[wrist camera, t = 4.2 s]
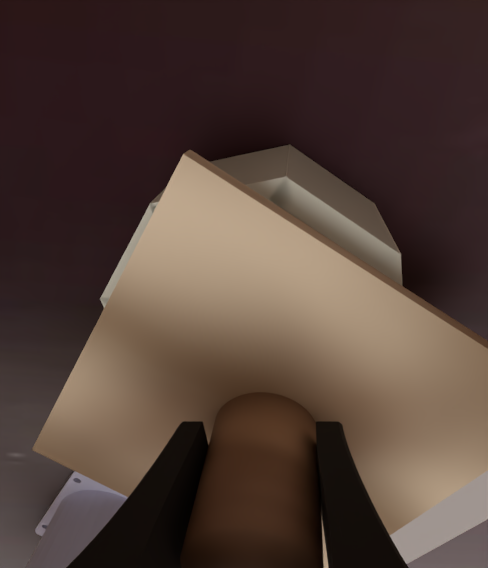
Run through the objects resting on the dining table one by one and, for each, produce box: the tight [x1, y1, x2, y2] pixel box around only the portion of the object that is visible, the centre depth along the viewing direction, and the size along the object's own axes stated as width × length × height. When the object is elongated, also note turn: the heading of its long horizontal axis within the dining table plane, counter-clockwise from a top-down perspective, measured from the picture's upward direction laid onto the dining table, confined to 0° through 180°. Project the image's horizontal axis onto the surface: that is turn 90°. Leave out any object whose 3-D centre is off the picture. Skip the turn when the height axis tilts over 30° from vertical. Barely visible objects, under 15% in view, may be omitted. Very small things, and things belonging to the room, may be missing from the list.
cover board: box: [32, 150, 488, 568], centre depth 11 cm, size 12×12×5 cm
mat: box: [390, 471, 488, 564], centre depth 25 cm, size 14×14×1 cm
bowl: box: [100, 144, 403, 308], centre depth 16 cm, size 10×10×5 cm
